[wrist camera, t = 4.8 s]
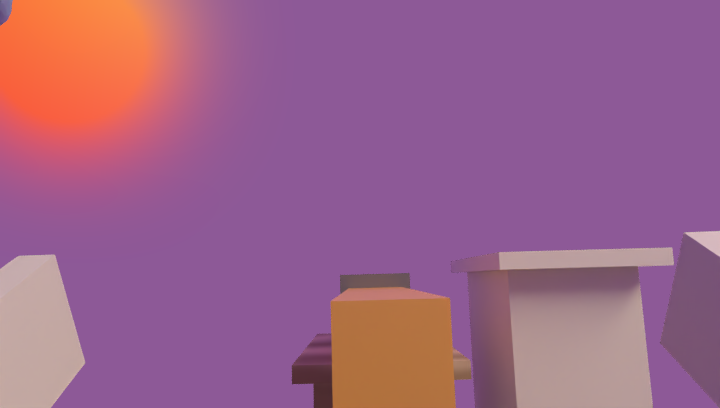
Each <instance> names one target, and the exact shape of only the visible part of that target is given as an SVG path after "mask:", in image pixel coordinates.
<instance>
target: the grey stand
mask: <svg viewBox="0 0 720 408" xmlns="http://www.w3.org/2000/svg"><path fill="white" fill-rule="evenodd" d="M661 265H674V260H673V251H672V248H638V249H602V250H564V251H528V252H498V253H493V254H487V255H482V256H476V257H471V258H466V259H461V260H456V261H451V272H452V273H455V272H467V273H468V292H469V307H470V308H469V309H470V324H471V325H470V326H471V344H472V361H473V378H474V393H475V394H474V396H475V408H653V404H652V394H651V385H650V375H649V367H648V357H647V348H646V338H645V328H644V320H643V310H642V301H641V292H640V282H639V273H638V266H661Z"/></svg>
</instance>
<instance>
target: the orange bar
mask: <svg viewBox="0 0 720 408" xmlns="http://www.w3.org/2000/svg"><path fill="white" fill-rule="evenodd" d="M340 291H341V294H340V295H339V296H337V297H336V298H335V299H334V300H332V301H331V340H332V395H333V408H456V407H455V386H454V367H453V348H452V329H451V312H450V311H451V310H450V298H447V297H443V296H439V295H434V294H430V293H425V292H421V291H417V290H413V289H410V277H409V273H401V274H365V275H340Z"/></svg>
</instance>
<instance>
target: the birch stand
mask: <svg viewBox="0 0 720 408" xmlns="http://www.w3.org/2000/svg"><path fill="white" fill-rule="evenodd" d="M452 348H453V347H452ZM453 367H454V380H460V379H471V365H470V360H469V359H468V358H466V357H465V356H464V355H462V354H461V353H460V352H458V351H457V350H456V349H455V348H453ZM313 383H314V408H333V395H332V340H331V334H317V335H316V336H315V338H314V339H313V340H312V342H311V343H310V344H309V345H308V346H307V348H306V349H305V350H304V351H303V353H302V354H301V355H300V356H299V357H298V359H297V360H296V361H295V362H294V364H293V365H292V384H313Z"/></svg>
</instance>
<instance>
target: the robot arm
mask: <svg viewBox="0 0 720 408" xmlns="http://www.w3.org/2000/svg"><path fill="white" fill-rule="evenodd" d="M11 9H12V0H0V25H2V24H3V23H4V22H6V21H7V19H8V17H9V15H10V14H11ZM660 343H661V345H663V347H664V348H665V349H666V350H667V351H668V352H669V353H670V354H671V355H672V357H673V358H674V359H675V360H676V361H677V362H678V363H679V364H680V365H681V366H682V368H683V369H684V370H685V371H686V372H687V373H688V374H689V375H690V376H691V377H692V378H693V380H694V381H695V382H696V383H697V384H698V385H699V386H700V387H701V388H702V389H703V390H704V392H705V393H706V394H707V395H708V396H709V397H710V398H711V399H712V400H713V401H714V403H715V404H717V406H718V407H719V408H720V231H715V232H685V233H684V234H683V239H682V243H681V248H680V253H679V257H678V262H677V267H676V271H675V276H674V281H673V285H672V290H671V295H670V299H669V304H668V309H667V313H666V318H665V323H664V327H663V332H662V336H661V342H660ZM84 364H85V361H84V357H83V353H82V350H81V346H80V343H79V339H78V335H77V332H76V328H75V325H74V321H73V318H72V314H71V311H70V307H69V304H68V300H67V296H66V293H65V289H64V286H63V282H62V279H61V275H60V271H59V268H58V265H57V261H56V257H55V255H32V256H18V257H16V258H15V259H13V260H12V261H11V262H9V263H8V264H7V265H5V266H4V267H3V268H1V269H0V408H51V407H52V405H53V404H54V403H55V401H56V400H57V399H58V397H59V396H60V395H61V394H62V392H63V391H64V389H65V388H66V387H67V386H68V384H69V383H70V382H71V381H72V379H73V378H74V377H75V375H76V374H77V373H78V371H79V370H80V369H81V367H82V366H83V365H84Z"/></svg>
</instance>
